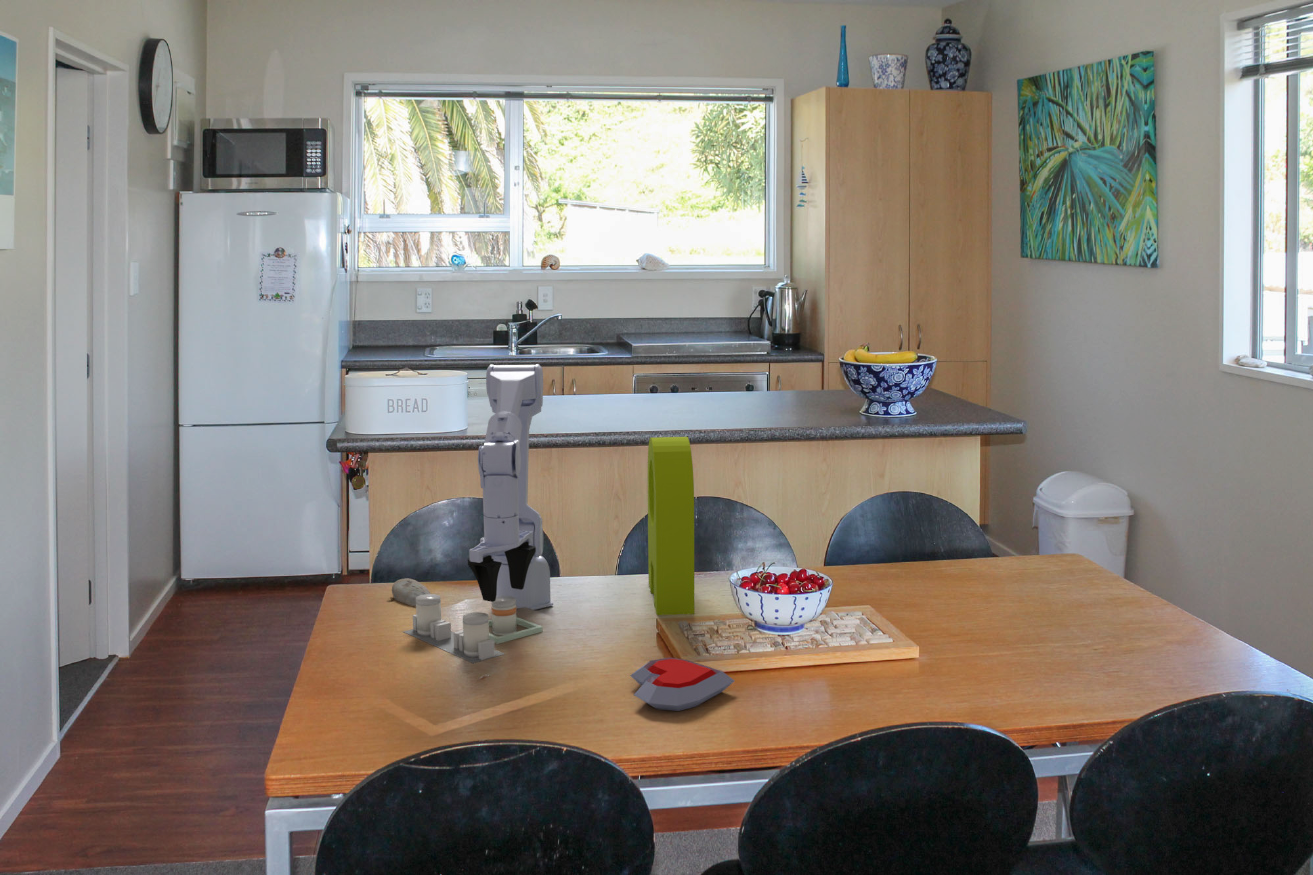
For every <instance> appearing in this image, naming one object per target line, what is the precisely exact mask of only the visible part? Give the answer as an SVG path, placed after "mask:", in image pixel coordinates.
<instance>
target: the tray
mask: <svg viewBox="0 0 1313 875" xmlns="http://www.w3.org/2000/svg"><path fill="white" fill-rule="evenodd" d="M516 623H517V625H519V626H521V627H524V628H526V629H523V630H519V631H516V632H514V633H511V634H507V635H497V634H494V633H490V632H489V640H494V644H498V645H499V644H501V643H506V642H509V641H512V640H517V639H521V638H524V637H527V636H531V635H534V634H538V633H542V632H543V626H542V625H539V624H537V623H535V622H531V621H530V620H526V619H523V618H520V617H518V616H516ZM490 627H492V619H489V628H490Z"/></svg>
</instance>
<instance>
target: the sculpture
mask: <svg viewBox="0 0 1313 875" xmlns="http://www.w3.org/2000/svg"><path fill="white" fill-rule="evenodd" d="M630 677H631V678H632V679H633V680H635V682H636V683H637V684H638V685H640V687H639V689H637V690H636V691H635V692H634V694H633V696H635V697H636V698H638V699H640V700H641V701H643V702H644V703H646V704H648V705H649V706H652V707H653V708H655V710H661V711H662V710H663V711H664V710H665V711H675V712H676V711H677V712H679V711H684V710H687V709H688V710H689V709H693V708H696V707H698V706H699V705H701V704H703V703H704V702H706V701H708V700H710V699H712V698H713V697H715V696H718V695H719V694H720V693H722V692H724V691H725V690H726V689H727V688H729V687H730V686H731V685H732V684H733V683H734V682H735V679H733V678H732V677H730V676H729V675H728V674H727V673H725V672H724V671H722V670H720V669H717V668H713V667H711V666H707V665H705V664H701V663H699V662H695V661H691V660H689V659H683V658H676V657H671V656H670V657H669V656H668V657H664V658H657V659H651V660H650V661H648V662H647V663H645V664H644V665H642V666H640V667H639V668H638V669H637V670H635V671H634V672H632V673H631V674H630Z"/></svg>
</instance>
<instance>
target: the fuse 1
mask: <svg viewBox="0 0 1313 875" xmlns="http://www.w3.org/2000/svg"><path fill="white" fill-rule="evenodd" d="M441 601H442V600H441V595H439V594H435V593H430V594H425V595H420V596H418V597H416V607H415V609H416V610H415V611H416V614H415V615H417V634H418V635H420V636H431V633H430V623H431V622H435V621H439V620H442V607H441V606H442V605H441V604H442V603H441Z"/></svg>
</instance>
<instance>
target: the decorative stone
mask: <svg viewBox="0 0 1313 875" xmlns="http://www.w3.org/2000/svg"><path fill="white" fill-rule="evenodd" d="M391 593H392V596H393V598H394V600H395V601H397V602H400V603H402V604H405V605H409V606H411V607H414V608H416V597H418V596H420V595H425V594H431V592H430V590H429V589H428V588H427V587H426V586H425V585H424V584H423V583H420V581H417V580H415V579H412V578H409V577H408V578H401V579H397V580H396V581H395V582H394V583H393V584H392V586H391Z"/></svg>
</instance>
